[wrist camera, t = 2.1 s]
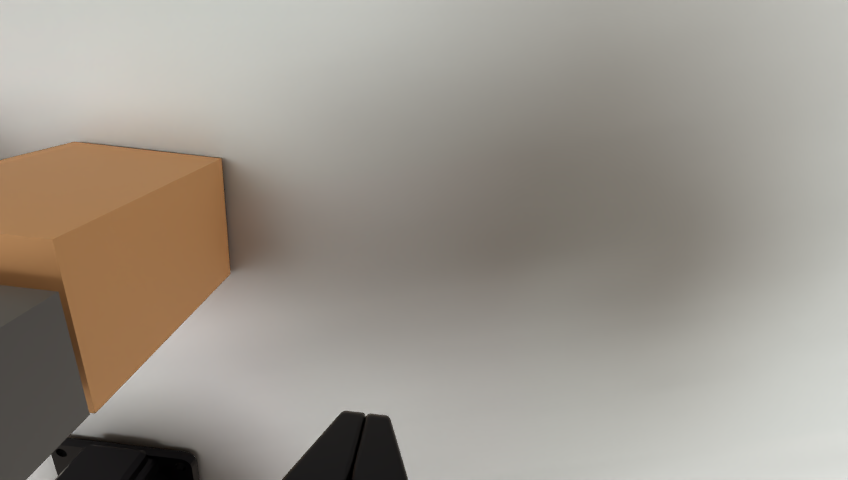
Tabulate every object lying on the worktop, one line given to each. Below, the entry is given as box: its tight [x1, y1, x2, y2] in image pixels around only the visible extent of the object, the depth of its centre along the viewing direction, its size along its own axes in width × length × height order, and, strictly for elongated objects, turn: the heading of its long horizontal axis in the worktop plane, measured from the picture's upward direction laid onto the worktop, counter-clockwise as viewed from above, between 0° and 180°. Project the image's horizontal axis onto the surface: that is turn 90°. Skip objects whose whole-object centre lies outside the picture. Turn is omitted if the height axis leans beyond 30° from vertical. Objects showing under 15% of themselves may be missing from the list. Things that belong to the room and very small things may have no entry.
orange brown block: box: [0, 142, 230, 413], centre depth 13 cm, size 4×5×7 cm
